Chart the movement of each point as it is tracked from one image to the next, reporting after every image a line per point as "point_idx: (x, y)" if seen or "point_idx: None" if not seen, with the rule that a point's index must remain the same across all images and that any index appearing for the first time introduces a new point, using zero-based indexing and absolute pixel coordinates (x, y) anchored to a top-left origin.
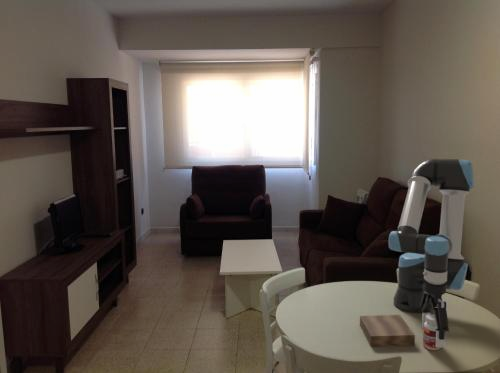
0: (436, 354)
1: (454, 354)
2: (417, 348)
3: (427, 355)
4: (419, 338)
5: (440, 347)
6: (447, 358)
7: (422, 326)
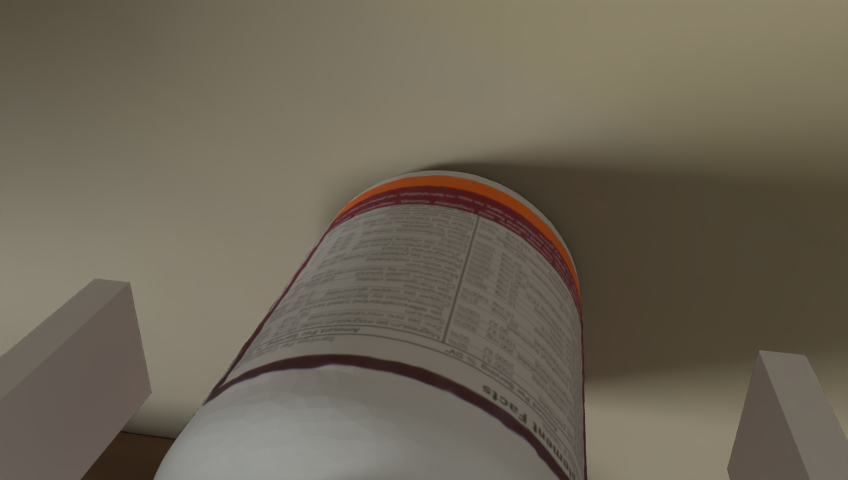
0: (682, 333)
1: (756, 58)
2: None
3: (679, 449)
4: (229, 341)
5: (549, 224)
6: (841, 237)
7: (116, 435)
